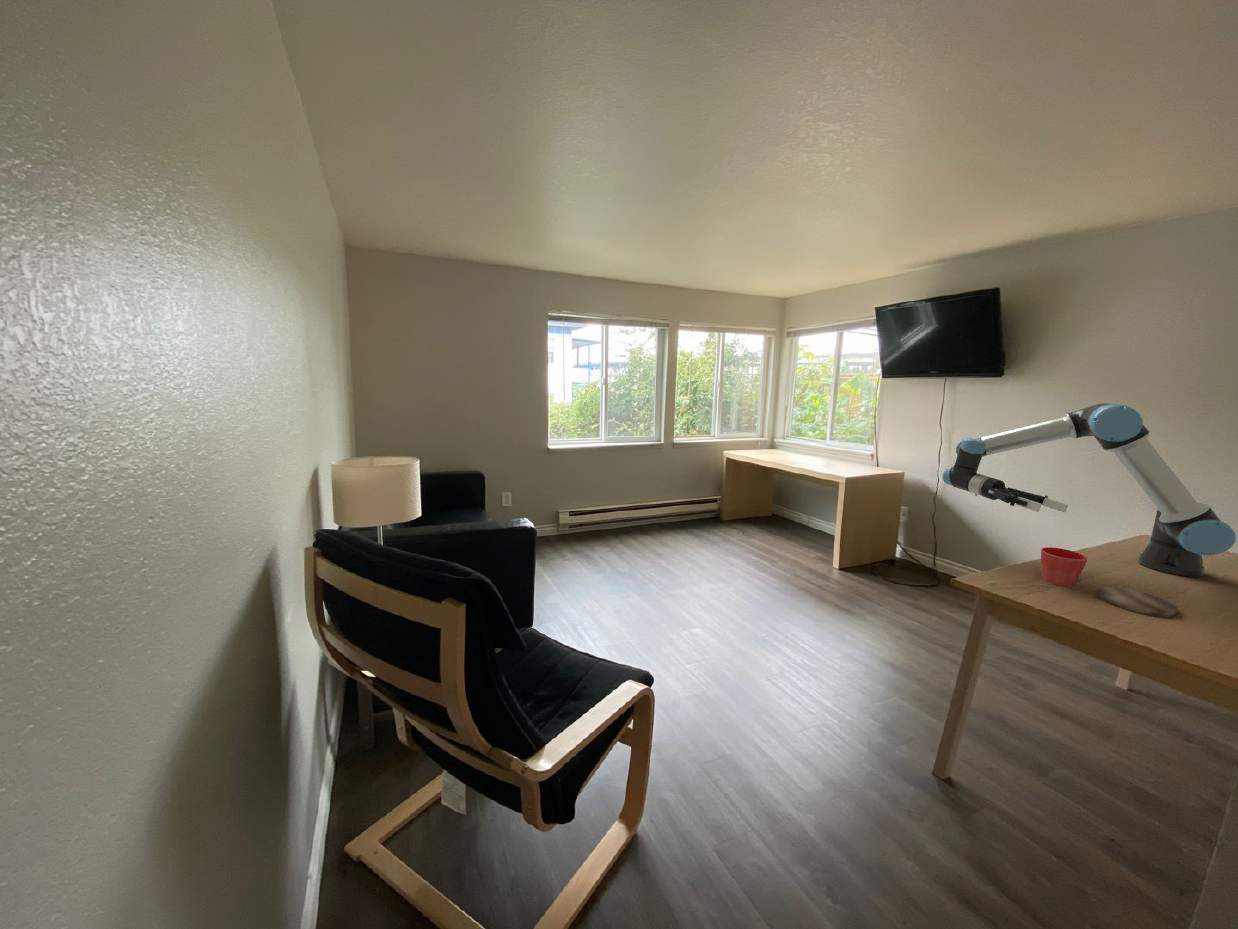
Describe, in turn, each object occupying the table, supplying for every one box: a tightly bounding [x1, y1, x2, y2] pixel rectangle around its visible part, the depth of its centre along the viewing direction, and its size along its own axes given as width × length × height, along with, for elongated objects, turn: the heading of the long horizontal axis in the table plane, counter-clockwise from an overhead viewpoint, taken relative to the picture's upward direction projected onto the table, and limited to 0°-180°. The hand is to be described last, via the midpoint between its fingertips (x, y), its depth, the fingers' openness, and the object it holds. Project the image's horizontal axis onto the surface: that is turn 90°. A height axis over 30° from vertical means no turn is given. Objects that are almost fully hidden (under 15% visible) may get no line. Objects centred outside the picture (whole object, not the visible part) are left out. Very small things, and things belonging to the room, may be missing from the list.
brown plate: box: [1095, 585, 1178, 618], centre depth 139 cm, size 16×16×2 cm
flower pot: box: [1040, 546, 1088, 587], centre depth 152 cm, size 11×11×10 cm
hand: (1053, 508), depth 155 cm, fingers open, 13 cm apart
